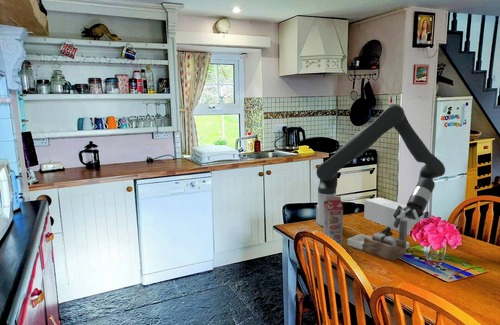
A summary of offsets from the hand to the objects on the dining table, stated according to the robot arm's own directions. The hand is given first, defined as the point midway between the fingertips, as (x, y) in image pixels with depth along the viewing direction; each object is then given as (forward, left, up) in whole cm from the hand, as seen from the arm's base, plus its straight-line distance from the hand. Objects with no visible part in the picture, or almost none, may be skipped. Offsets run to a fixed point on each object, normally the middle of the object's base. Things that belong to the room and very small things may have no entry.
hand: (404, 229), depth 156 cm
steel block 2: (0, -11, -5) cm, 12 cm away
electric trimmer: (-14, +6, -9) cm, 17 cm away
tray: (-14, -11, -8) cm, 20 cm away
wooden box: (-3, -11, -8) cm, 14 cm away
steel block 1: (-6, -11, -5) cm, 13 cm away
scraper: (0, -1, -8) cm, 8 cm away
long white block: (-19, +25, -9) cm, 33 cm away
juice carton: (-23, -20, -9) cm, 32 cm away
